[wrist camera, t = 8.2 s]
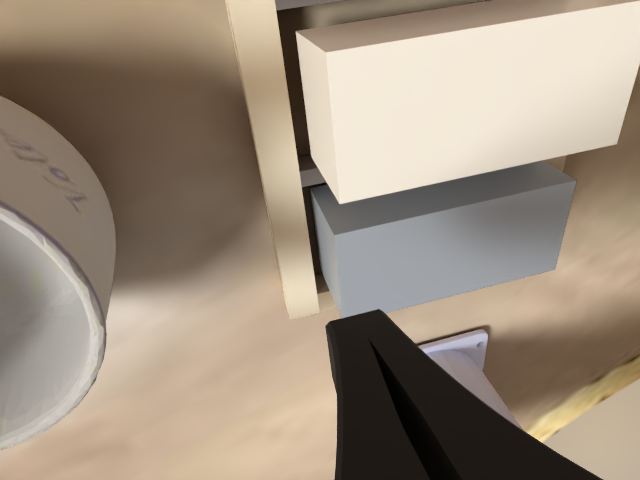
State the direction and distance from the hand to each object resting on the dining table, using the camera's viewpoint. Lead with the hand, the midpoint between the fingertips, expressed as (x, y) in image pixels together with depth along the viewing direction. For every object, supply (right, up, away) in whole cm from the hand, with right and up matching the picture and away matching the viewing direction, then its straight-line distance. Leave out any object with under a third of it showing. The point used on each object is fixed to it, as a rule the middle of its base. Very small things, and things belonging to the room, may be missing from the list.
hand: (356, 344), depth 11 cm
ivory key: (+3, +9, +6) cm, 11 cm away
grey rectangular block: (+4, +4, +11) cm, 12 cm away
